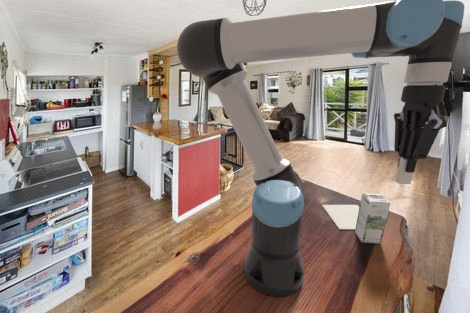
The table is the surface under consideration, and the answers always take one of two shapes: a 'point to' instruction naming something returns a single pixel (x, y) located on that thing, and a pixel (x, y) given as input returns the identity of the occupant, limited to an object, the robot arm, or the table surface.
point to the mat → (343, 215)
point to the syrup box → (372, 218)
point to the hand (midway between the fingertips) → (402, 182)
